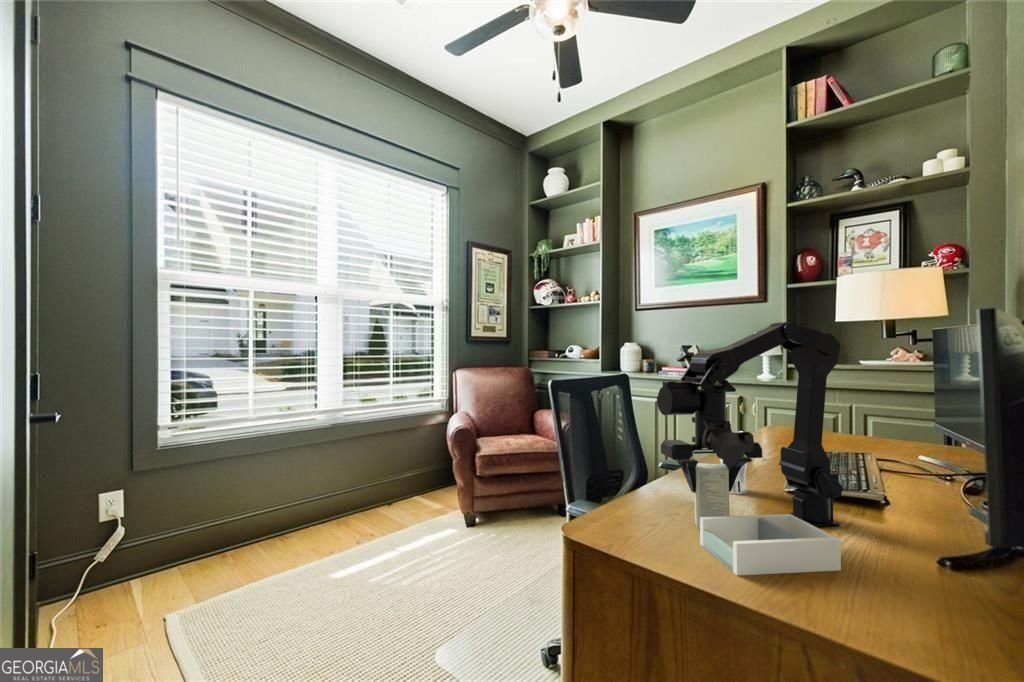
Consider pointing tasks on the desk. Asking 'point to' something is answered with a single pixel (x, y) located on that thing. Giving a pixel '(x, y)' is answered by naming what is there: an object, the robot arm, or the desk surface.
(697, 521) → the skincare box
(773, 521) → the box
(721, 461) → the beer glass
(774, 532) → the tall grey panel
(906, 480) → the desk surface
